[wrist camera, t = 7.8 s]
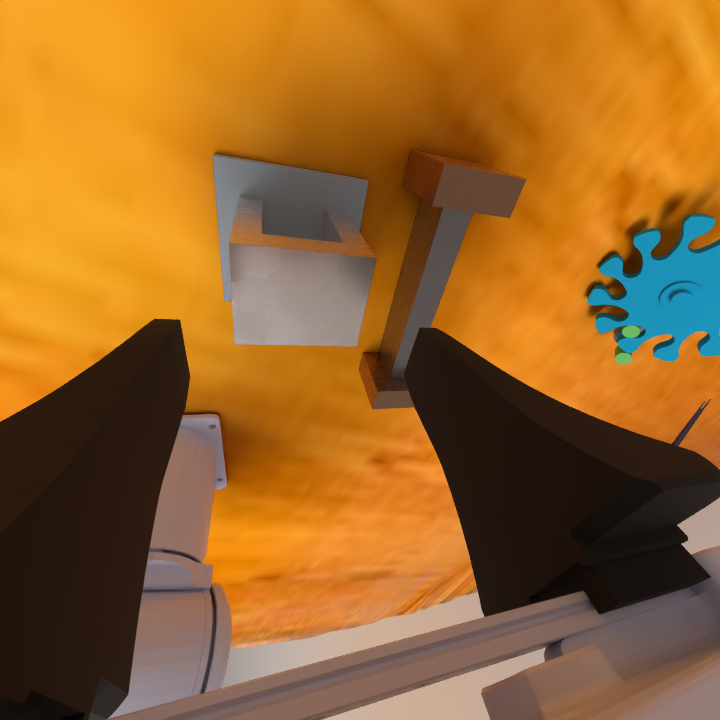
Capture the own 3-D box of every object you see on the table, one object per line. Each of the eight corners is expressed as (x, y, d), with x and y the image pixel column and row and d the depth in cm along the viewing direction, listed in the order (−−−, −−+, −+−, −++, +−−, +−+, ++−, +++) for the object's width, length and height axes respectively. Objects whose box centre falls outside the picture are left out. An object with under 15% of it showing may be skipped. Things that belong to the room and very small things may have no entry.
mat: (344, 302, 20) (346, 307, 20) (225, 296, 18) (224, 301, 18) (365, 179, 16) (368, 181, 16) (214, 153, 14) (212, 155, 14)
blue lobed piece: (666, 188, 19) (881, 264, 16) (658, 175, 23) (830, 234, 20) (548, 332, 26) (680, 399, 24) (558, 303, 30) (672, 358, 28)
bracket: (333, 283, 19) (356, 346, 14) (242, 276, 17) (234, 344, 13) (344, 210, 16) (376, 258, 12) (239, 195, 15) (228, 242, 10)
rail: (407, 369, 26) (426, 406, 23) (359, 369, 24) (372, 409, 21) (480, 163, 17) (526, 179, 14) (410, 149, 16) (444, 163, 13)
